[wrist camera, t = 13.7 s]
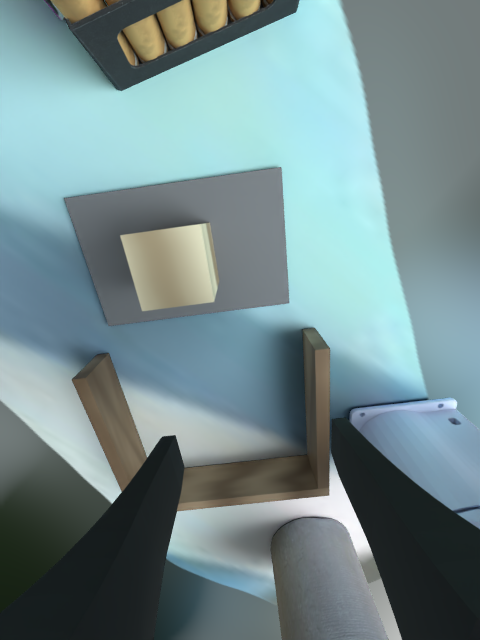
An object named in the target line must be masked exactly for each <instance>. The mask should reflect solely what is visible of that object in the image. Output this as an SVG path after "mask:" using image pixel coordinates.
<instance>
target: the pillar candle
mask: <svg viewBox="0 0 480 640" xmlns="http://www.w3.org/2000/svg"><path fill="white" fill-rule="evenodd" d="M271 555H272V563H273V572H274V579H275V587H276V596H277V603H278V612H279V619H280V627H281V636H282V640H389V639H388V637H387V634H386V631H385V629H384V626H383V623H382V621H381V618H380V616H379V613H378V610H377V607H376V605H375V602H374V599H373V596H372V594H371V591H370V589H369V586H368V583H367V580H366V578H365V575H364V572H363V570H362V567H361V564H360V561H359V559H358V556H357V554H356V551H355V548H354V546H353V543H352V540H351V537H350V535H349V533H348V531H347V529H346V527H344V525H343V524H342V523H340V522H338V521H337V520H334V519H329V518H323V519H320V518H300V519H296V520H294V521H291V522H289V523H288V524H286V525H284V526H282V527H281V528H280V529H279V530H278V531H277V532H276V533H275V535H274V537H273V539H272V543H271Z"/></svg>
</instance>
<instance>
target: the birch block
mask: <svg viewBox="0 0 480 640" xmlns="http://www.w3.org/2000/svg"><path fill="white" fill-rule="evenodd" d="M120 237H121V240H122V244H123V247H124V251H125V254H126V257H127V261H128V264H129V268H130V271H131V275H132V278H133V281H134V285H135V288H136V292H137V295H138V299H139V302H140V306H141V309H142V311H148V310H156V309H164V308H172V307H179V306H187V305H195V304H202V303H210V302H214V300H215V296H216V292H217V288H218V284H219V276H218V270H217V263H216V257H215V251H214V245H213V239H212V233H211V226H210V223H204V224H196V225H189V226H182V227H175V228H168V229H161V230H153V231H146V232H140V233H133V234H126V235H120Z"/></svg>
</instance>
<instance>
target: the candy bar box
mask: <svg viewBox="0 0 480 640" xmlns="http://www.w3.org/2000/svg"><path fill="white" fill-rule="evenodd" d="M44 1H45V2H46V3H47V4H48V6H49V7H50V8H51V9H52V11H53V12H54V13H55V14H56V15H57V16H58V18H59V19H60V20H61V21H63V20H65V19H66V18H65V17H64V16H63V14H62V13H61V12H60V11H59V10H58V9H57V7H56V6H55V5H54V4H53V3H52V1H51V0H44Z"/></svg>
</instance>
